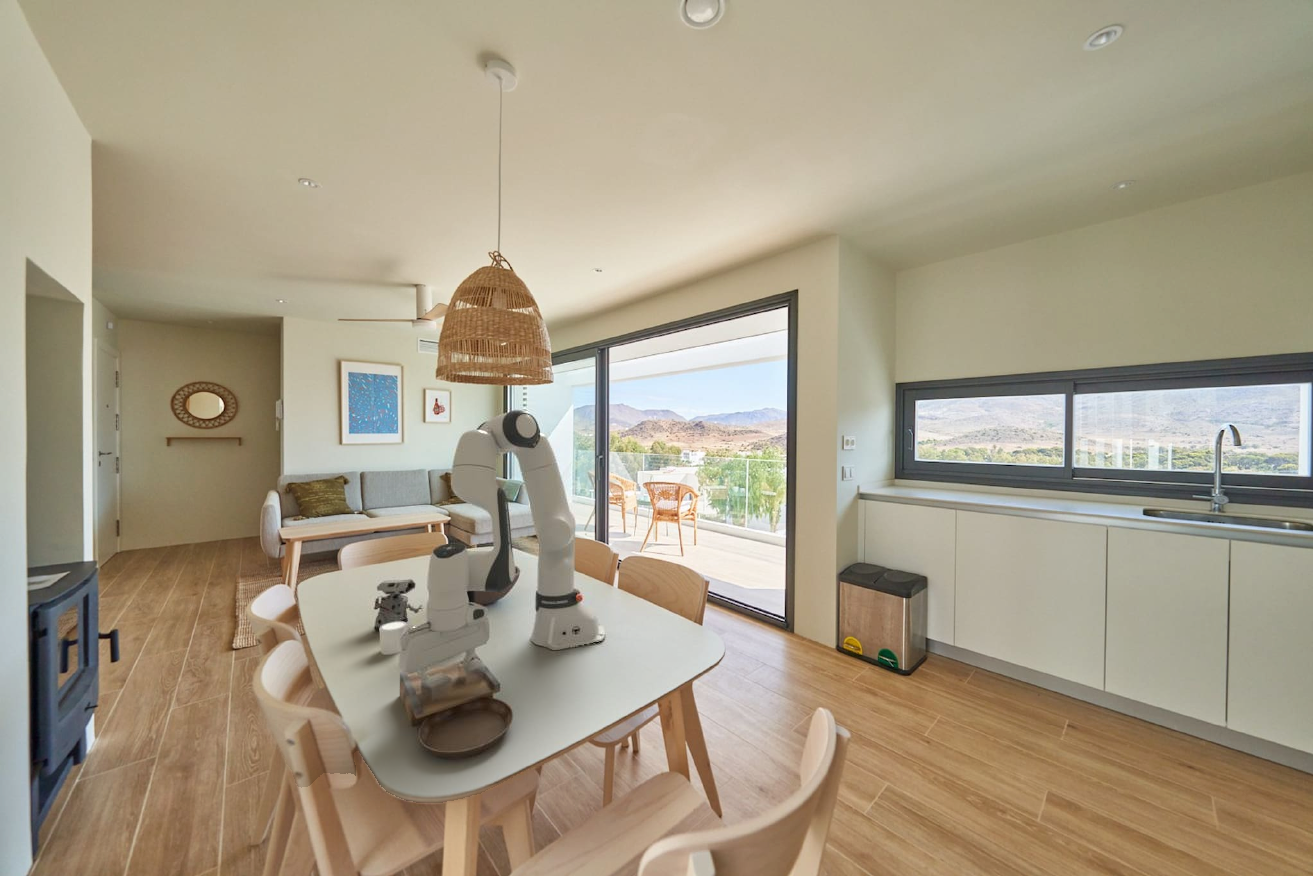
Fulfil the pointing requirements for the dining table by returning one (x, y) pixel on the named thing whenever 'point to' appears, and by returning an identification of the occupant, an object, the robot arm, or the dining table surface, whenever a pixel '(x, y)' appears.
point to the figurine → (393, 602)
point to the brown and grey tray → (460, 693)
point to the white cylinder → (391, 637)
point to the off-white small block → (436, 686)
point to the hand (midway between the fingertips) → (446, 676)
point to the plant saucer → (466, 728)
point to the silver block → (471, 671)
